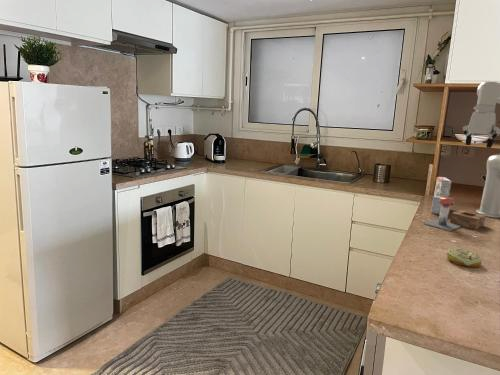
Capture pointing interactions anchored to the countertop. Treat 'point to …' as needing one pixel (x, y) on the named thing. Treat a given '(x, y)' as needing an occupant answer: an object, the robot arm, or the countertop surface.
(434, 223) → the rubber mat
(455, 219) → the eye block
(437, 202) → the medicine box
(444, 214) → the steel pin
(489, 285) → the countertop surface
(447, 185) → the candy bar box
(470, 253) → the decorated donut
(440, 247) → the countertop surface
